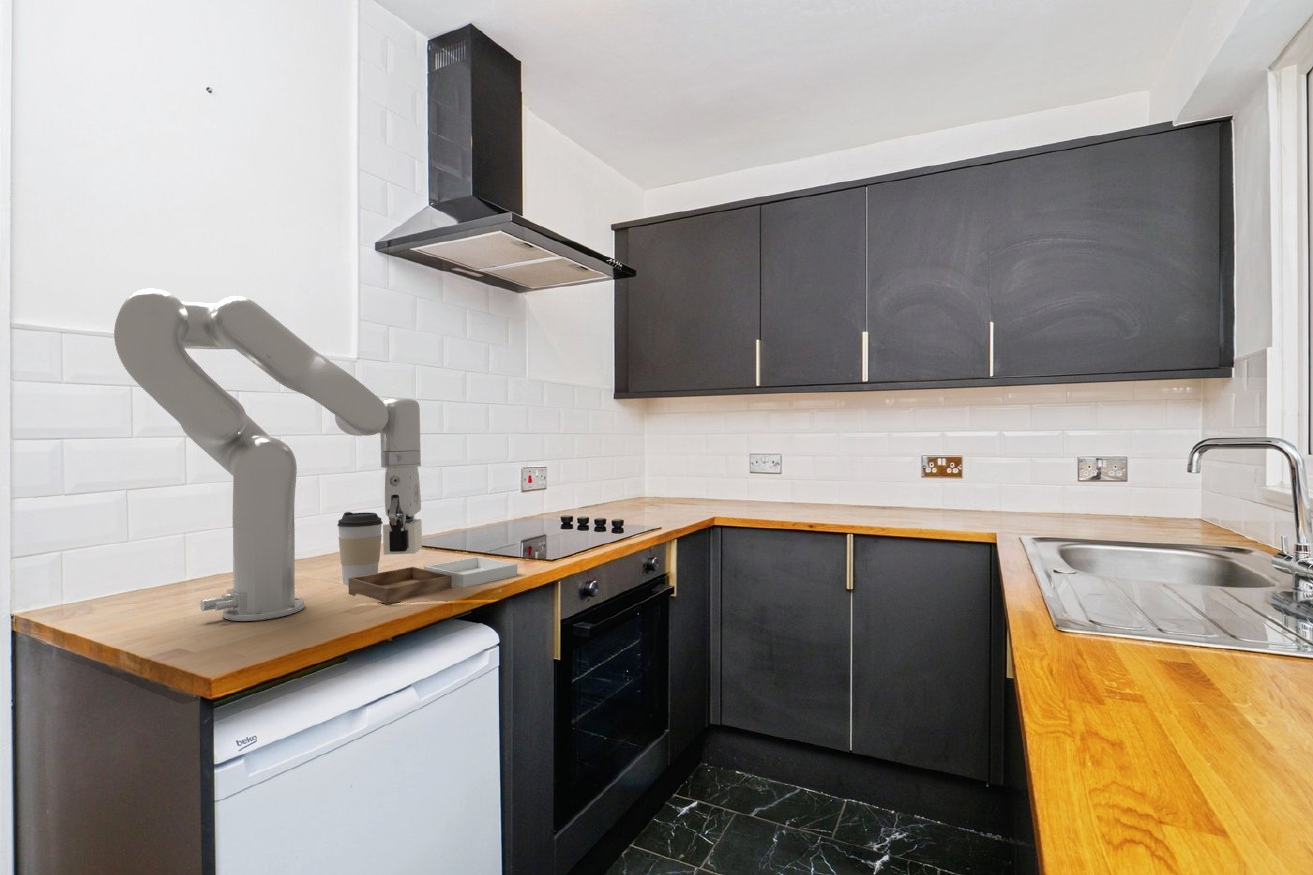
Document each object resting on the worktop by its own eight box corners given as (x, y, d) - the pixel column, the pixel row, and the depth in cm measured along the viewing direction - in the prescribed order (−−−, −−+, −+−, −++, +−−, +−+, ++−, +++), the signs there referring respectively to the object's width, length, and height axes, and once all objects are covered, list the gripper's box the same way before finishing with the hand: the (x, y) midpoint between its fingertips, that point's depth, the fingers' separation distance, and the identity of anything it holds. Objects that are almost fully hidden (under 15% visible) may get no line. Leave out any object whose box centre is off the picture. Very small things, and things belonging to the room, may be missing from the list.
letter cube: (414, 553, 128) (414, 523, 128) (383, 554, 128) (382, 524, 127) (422, 547, 134) (421, 518, 134) (392, 548, 134) (391, 519, 134)
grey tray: (463, 590, 133) (463, 575, 133) (424, 580, 141) (424, 566, 141) (517, 577, 144) (517, 564, 144) (477, 569, 152) (477, 556, 152)
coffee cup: (390, 576, 145) (390, 510, 144) (368, 586, 136) (368, 515, 135) (352, 575, 145) (352, 509, 145) (328, 585, 136) (328, 514, 136)
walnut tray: (386, 605, 121) (386, 588, 121) (348, 593, 129) (348, 578, 129) (451, 590, 132) (451, 575, 132) (412, 580, 141) (412, 566, 141)
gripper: (409, 461, 123) (411, 555, 123) (429, 457, 140) (431, 539, 140) (368, 462, 122) (370, 557, 122) (393, 458, 139) (395, 541, 139)
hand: (402, 547), depth 131 cm, fingers closed on letter cube, 6 cm apart
